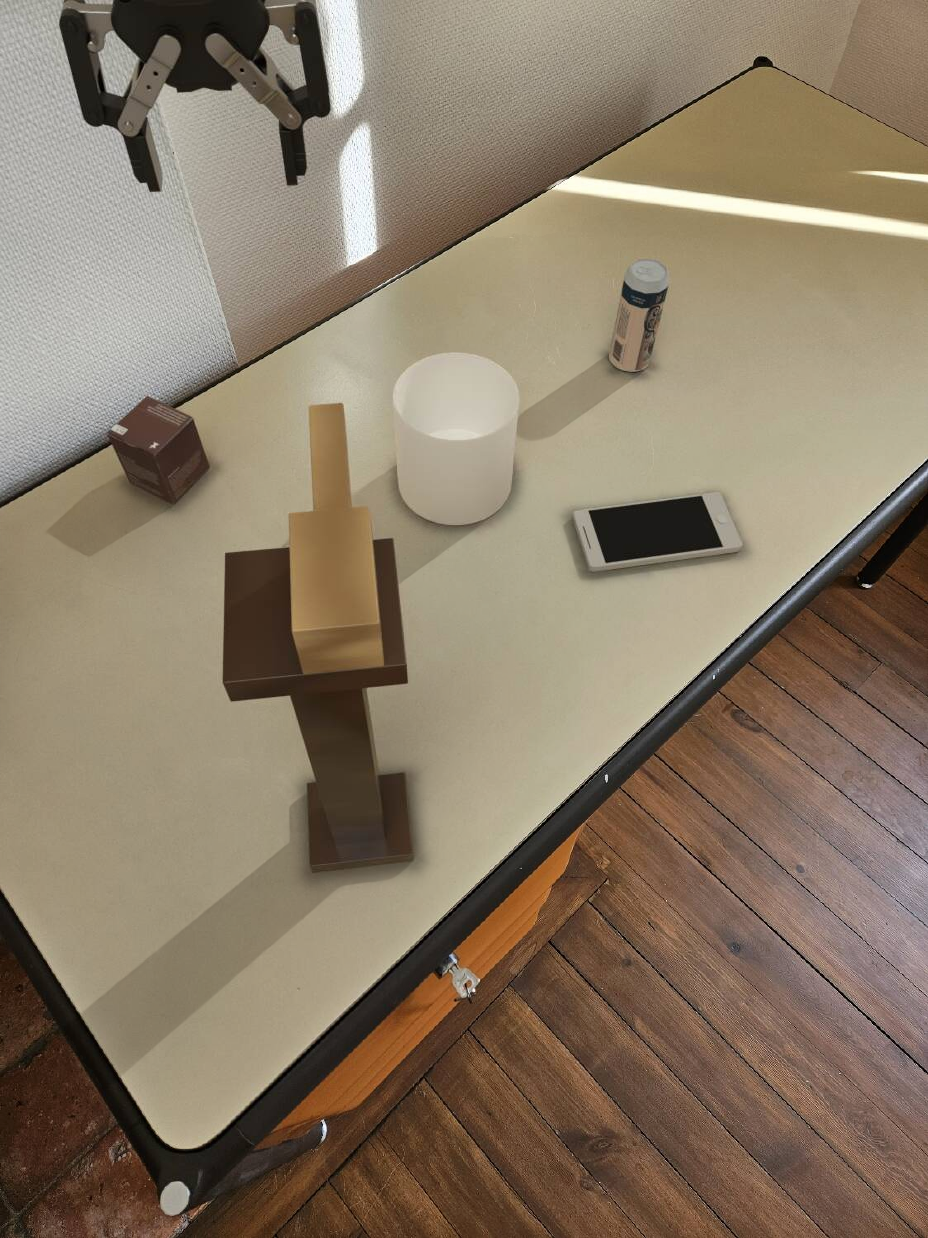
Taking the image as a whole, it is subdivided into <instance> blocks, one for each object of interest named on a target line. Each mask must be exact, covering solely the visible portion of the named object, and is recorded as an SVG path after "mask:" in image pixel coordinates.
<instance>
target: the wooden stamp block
mask: <svg viewBox="0 0 928 1238" xmlns="http://www.w3.org/2000/svg"><path fill="white" fill-rule="evenodd" d="M308 422H309V425H308V426H309V445H310V446H309V447H310V468H311V469H310V470H311V489H312V490H311V491H312V508H313V509H312V510H308V511H295V512H289V513H288V545H289V546H288V547H289V550H290V587H291V624H292V634H293V638H294V642H295V645H296V649H297V653H298V657H299V661H300V664H301V668H302V672H303V674H311V673H321V672H331V671H341V670H351V669H361V668H371V667H381V666H384V654H383V643H382V632H381V621H380V610H379V599H378V588H377V577H376V565H375V554H374V545H373V540H374V538H373V537H374V536H373V527H372V517H371V509H370V506H367V505H365V506H355V507H353V501H352V490H351V489H352V488H351V477H350V463H349V450H348V449H349V448H348V437H347V423H346V422H347V421H346V414H345V405H344V403H343V402H335V403H333V402H332V403H320V404H309V405H308Z"/></svg>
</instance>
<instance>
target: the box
mask: <svg viewBox="0 0 928 1238" xmlns="http://www.w3.org/2000/svg"><path fill="white" fill-rule="evenodd" d="M106 436H107V437H108V439H109V441H110V443H111V444H110V445H111V446H112V448H113V450H114V452H115V454H116V457H117V459H118V461H119V464H120V465H121V467H122V469H123V471H124V474H125V476H126V478H127V481H128V483H129V484H131V485H133V486H135V487H137V488H139V489H141V490H143V491H145V492H147V493H149V494H151V495H153V496H155V497H157V498H159V499H161V500H163V501H165V502H167V503H169V504H170V505H175V504H176V503H177V502H178V501H179V500H180V499H181V498H182V497H183V496H184V495H185V494H186V492H188V490H190V488H192V486H193V485H194V484H195V483H196V482H197V481H199V479H200V478H201V477H202V476H203V475H205V473H206V472H207V471H208V470H209V469H210V467H211V466H210V464H209V460H208V457H207V456H206V455H207V454H206V452H205V449H204V446H203V442H202V440H201V437H200V434H199V431H198V427H197V425H196V422H195V418H194V417H193V416H192V415H190V414H187V413H185V412H183V411H181V410H179V409H177V408H174V407H172V406H170V405H168V404H166V403H164V402H162V401H160V400H158V399H155V398H153V397H151V396H149V395H147V396H145V397H144V398H143V399H142V400H140V402H138V403H137V404H136V405H135V406H134V407H133V408H132V409H131V410H130V411H128V413H126V415H124V417H122V418H121V419H120V420H119V421H118V422H117V423H115V424H114V425H113V426H112V427H111V428H110V429H109V430H108V431H107V432H106Z"/></svg>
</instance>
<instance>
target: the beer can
mask: <svg viewBox="0 0 928 1238" xmlns="http://www.w3.org/2000/svg"><path fill="white" fill-rule="evenodd" d="M670 278H671V277H670V274H669V271H668V267H667V266H666V265H665V264H663V262H661V261H660V260H657V259H653V258H650V257H648V258H637V259H636V260H635V261H634V262H632V263H630V265H629V266H628V267H627V268H626V270H625V271H624V274H623V281H622V286H621V287H622V288H621V291H620V297H619V302H618V307H617V313H616V318H615V322H614V328H613V333H612V338H611V343H610V349H609V352H608V359H609V362H610V363H611V364H612V366H614V367H615V368H616V369H618V370H621V371H624V372H627V373H629V372H630V373H632V372H633V373H636V372H639V371H643V370H645V369H646V368H647V367H648V366H649V365H650V363H651V358H652V355H653V350H654V347H655V342H656V338H657V334H658V330H659V326H660V322H661V318H662V313H663V311H664V310H663V309H664V307H665V306H664V305H665V301H666V298H667V294H668V290H669V285H670V282H671V280H670Z"/></svg>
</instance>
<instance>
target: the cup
mask: <svg viewBox="0 0 928 1238" xmlns="http://www.w3.org/2000/svg"><path fill="white" fill-rule="evenodd" d="M391 397H392V413H393V428H394V443H395V445H394V446H395V457H396V458H395V459H396V475H397V484H398V485H397V486H398V491H399V494H400V496H401V499H402V500H403V502H404V503H405V504H406V506H407V507H408V508H409V509H410V510H411V511H413V513H415V514H416V515H417V516H419V517H421V518H423V519H424V520H427V521H430V522H432V523H436V524H439V525H444V526H445V525H446V526H465V525H471V524H475V523H478V522H481V521H484V520H486V519H488V518H489V517H491V516H493V515H494V514H496V513H497V512H498V511H499V510H500V509H501V508H502V507H503V506H504V504H505V503H506V502H507V500H508V499H509V496H510V493H511V491H512V484H513V473H514V462H515V452H516V443H517V442H516V440H517V431H518V430H517V429H518V420H519V418H518V417H519V411H520V409H519V408H520V397H521V396H520V392H519V387H518V385H517V383H516V381H515V379H514V378H513V377H512V375H510V373H509V372H508V371H507V370H506V369H505V368H503V367H502V366H501V365H499V364H498V363H497V362H495V361H492V360H491V359H489V358H487V357H484V356H481V355H477V354H474V353H468V352H444V353H436V354H432V355H430V356H427V357H424V358H422V359H420V360H418V361H416V362H414V363H412V364H411V365H410V366H409V367H407V368H406V369H405V370H403V372H402V373H401V374H400V376H399V377H398V378H397V380H396V383H395V384H394V385H393V390H392V396H391Z"/></svg>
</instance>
